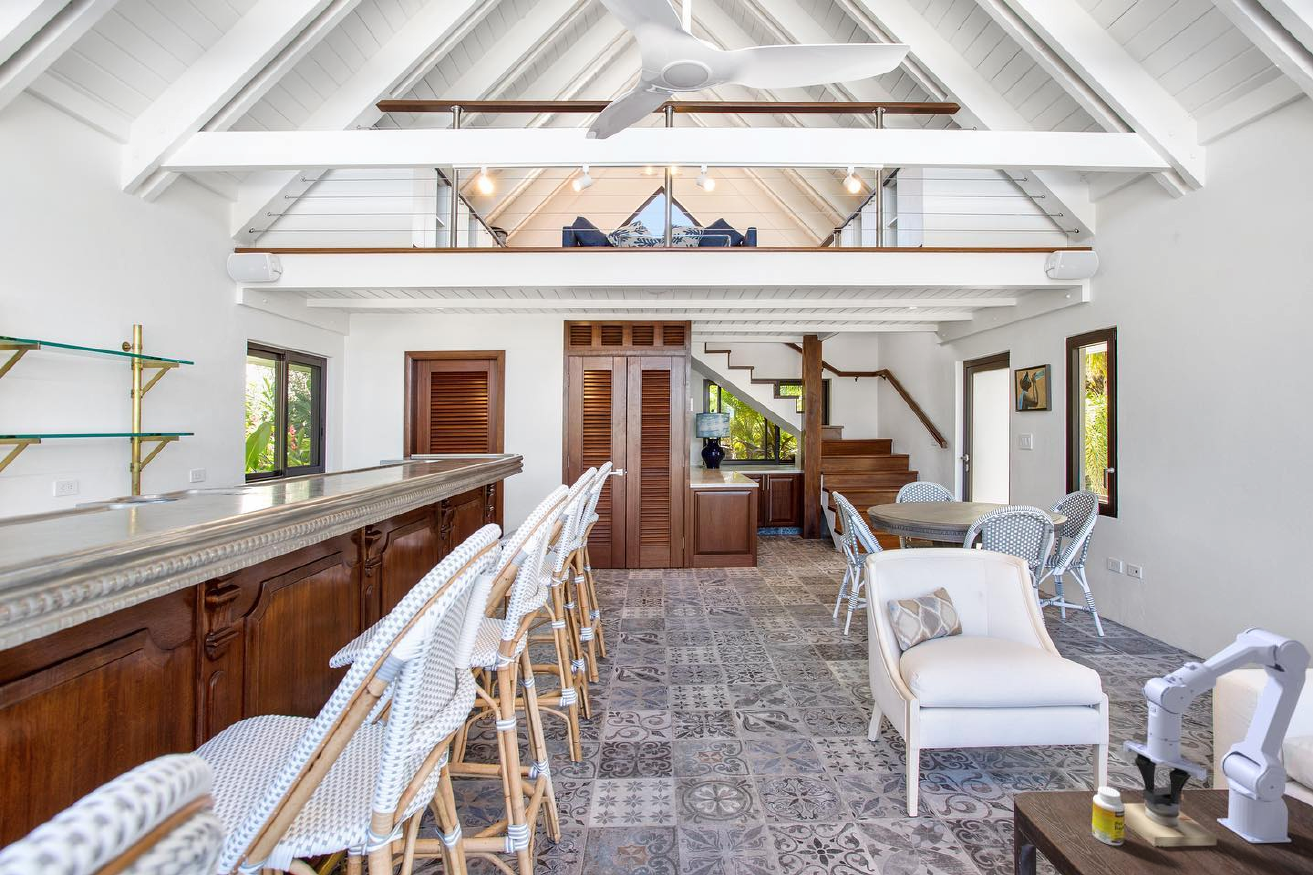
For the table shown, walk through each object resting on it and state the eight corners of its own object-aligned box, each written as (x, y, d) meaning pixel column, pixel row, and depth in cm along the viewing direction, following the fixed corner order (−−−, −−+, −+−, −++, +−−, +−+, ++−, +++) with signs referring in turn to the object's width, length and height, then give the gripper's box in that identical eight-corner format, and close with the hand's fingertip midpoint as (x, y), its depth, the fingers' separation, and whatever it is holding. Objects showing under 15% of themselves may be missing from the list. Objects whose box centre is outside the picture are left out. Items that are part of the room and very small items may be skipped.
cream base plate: (1167, 811, 148) (1167, 793, 147) (1216, 844, 136) (1217, 826, 136) (1109, 812, 146) (1110, 795, 146) (1154, 846, 135) (1155, 827, 134)
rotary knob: (1135, 801, 143) (1136, 784, 143) (1167, 799, 145) (1167, 781, 145) (1160, 818, 137) (1161, 799, 137) (1193, 815, 139) (1194, 797, 139)
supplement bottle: (1116, 850, 133) (1118, 801, 133) (1087, 835, 138) (1088, 788, 138) (1128, 841, 136) (1129, 793, 136) (1098, 827, 141) (1100, 781, 141)
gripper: (1118, 726, 145) (1115, 785, 145) (1198, 754, 132) (1195, 819, 133) (1132, 719, 149) (1129, 777, 149) (1211, 746, 136) (1208, 809, 136)
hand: (1161, 796), depth 141 cm, fingers closed on rotary knob, 4 cm apart
